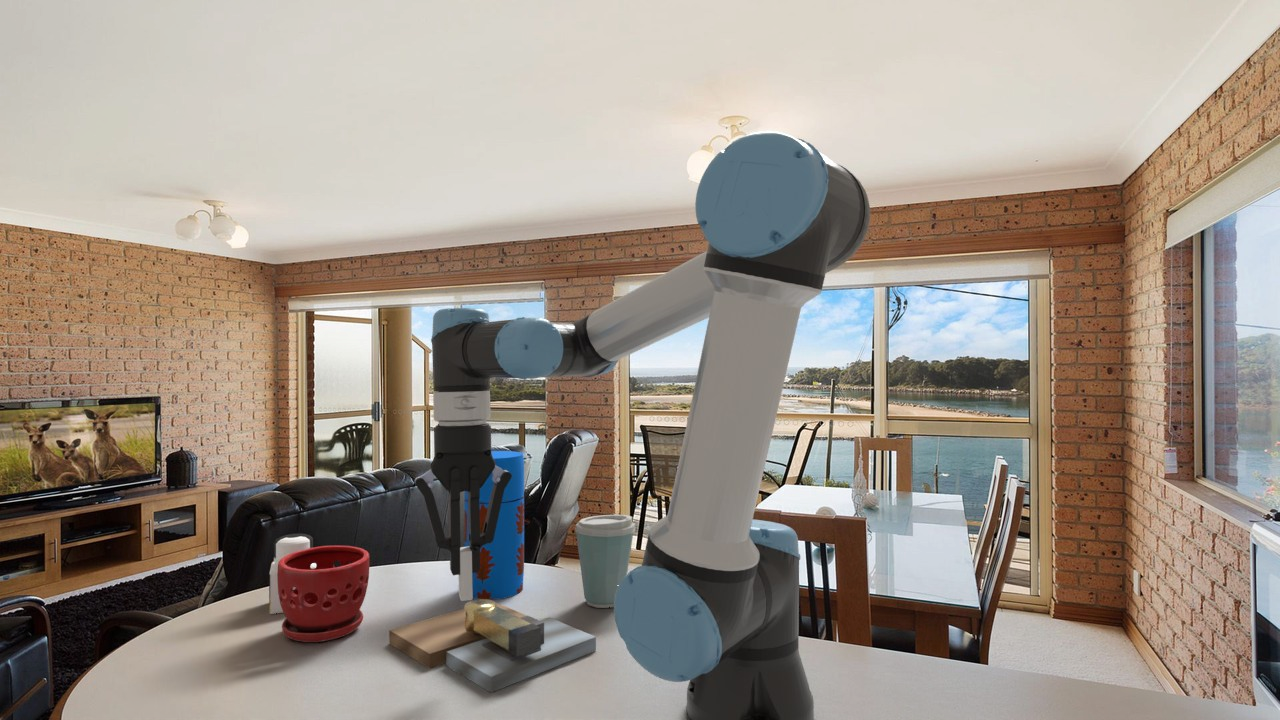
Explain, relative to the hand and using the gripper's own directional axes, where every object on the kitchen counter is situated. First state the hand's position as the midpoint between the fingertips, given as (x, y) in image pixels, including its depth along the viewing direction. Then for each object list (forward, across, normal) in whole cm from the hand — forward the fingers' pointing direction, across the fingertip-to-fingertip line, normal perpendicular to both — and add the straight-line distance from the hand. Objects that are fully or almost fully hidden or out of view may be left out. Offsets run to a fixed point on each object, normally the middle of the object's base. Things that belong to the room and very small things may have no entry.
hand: (465, 597), depth 94 cm
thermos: (+10, +9, +34) cm, 36 cm away
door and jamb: (+10, +5, +8) cm, 14 cm away
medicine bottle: (+9, -25, +38) cm, 46 cm away
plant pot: (+10, -19, +23) cm, 31 cm away
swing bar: (+8, +5, +4) cm, 10 cm away
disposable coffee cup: (+11, +26, +20) cm, 35 cm away
